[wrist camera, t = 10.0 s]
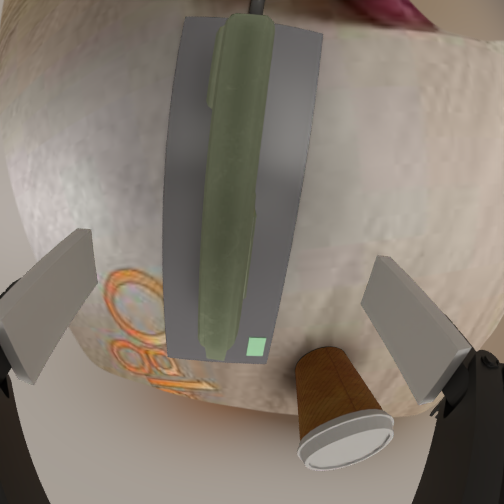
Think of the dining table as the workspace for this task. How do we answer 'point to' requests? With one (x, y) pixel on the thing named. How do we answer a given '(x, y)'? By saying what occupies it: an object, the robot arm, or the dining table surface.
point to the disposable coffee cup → (337, 412)
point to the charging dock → (267, 189)
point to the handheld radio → (232, 175)
